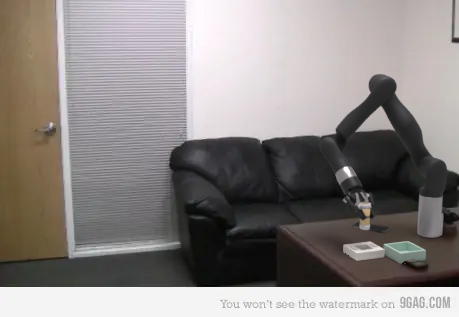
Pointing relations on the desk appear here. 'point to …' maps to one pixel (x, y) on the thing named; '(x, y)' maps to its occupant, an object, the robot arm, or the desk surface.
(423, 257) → the parts tray
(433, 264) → the desk surface
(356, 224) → the phone
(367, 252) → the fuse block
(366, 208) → the white and tan cylinder
